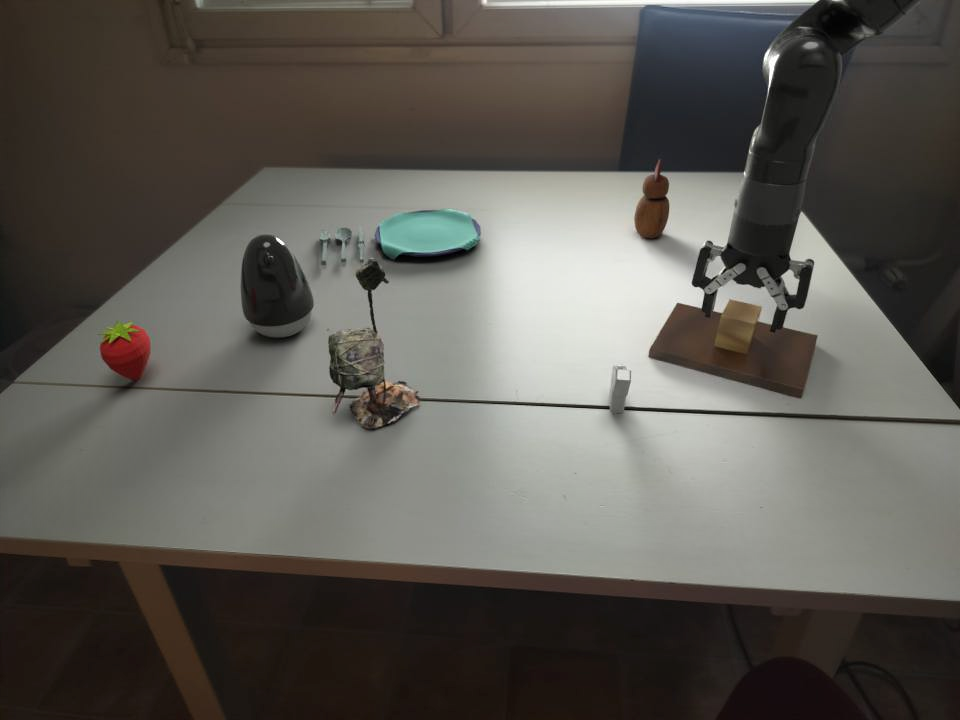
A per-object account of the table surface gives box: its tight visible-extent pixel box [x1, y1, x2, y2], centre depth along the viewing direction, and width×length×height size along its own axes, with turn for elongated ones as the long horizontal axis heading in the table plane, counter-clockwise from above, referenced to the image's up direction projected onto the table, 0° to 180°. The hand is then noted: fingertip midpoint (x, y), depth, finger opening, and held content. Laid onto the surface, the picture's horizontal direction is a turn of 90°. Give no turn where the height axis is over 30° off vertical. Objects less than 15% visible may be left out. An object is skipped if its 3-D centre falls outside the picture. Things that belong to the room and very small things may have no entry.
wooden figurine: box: [633, 158, 670, 239], centre depth 121 cm, size 7×6×15 cm
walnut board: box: [647, 302, 818, 399], centre depth 94 cm, size 20×14×2 cm
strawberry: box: [97, 317, 151, 382], centre depth 88 cm, size 6×8×10 cm
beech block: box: [714, 298, 763, 355], centre depth 92 cm, size 4×5×5 cm
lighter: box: [609, 364, 632, 414], centre depth 82 cm, size 7×2×8 cm, turn 171°
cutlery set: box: [319, 208, 482, 266], centre depth 124 cm, size 20×30×2 cm, turn 99°
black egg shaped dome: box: [240, 233, 315, 339], centre depth 97 cm, size 10×10×15 cm
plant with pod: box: [326, 257, 421, 430], centre depth 79 cm, size 8×11×20 cm
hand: (740, 322), depth 91 cm, fingers open, 8 cm apart
